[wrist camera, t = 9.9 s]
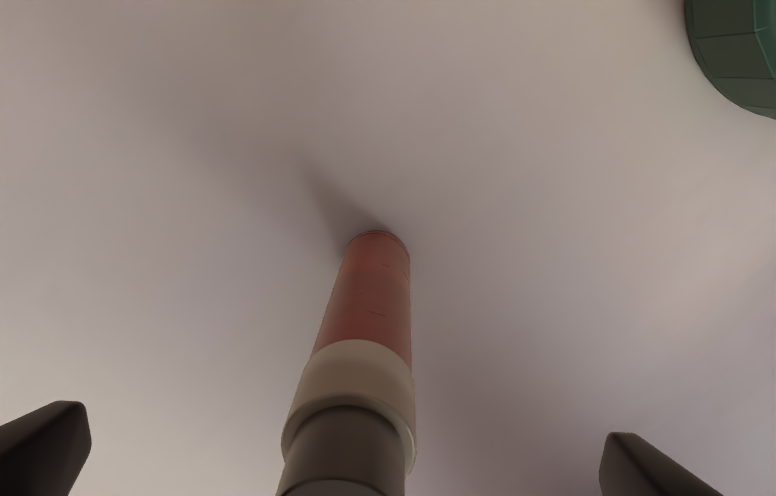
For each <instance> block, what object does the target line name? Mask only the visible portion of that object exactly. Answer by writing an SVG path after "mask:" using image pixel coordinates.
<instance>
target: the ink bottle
mask: <svg viewBox="0 0 776 496" xmlns="http://www.w3.org/2000/svg"><path fill="white" fill-rule="evenodd" d="M685 14H686V24H687V31H688V35H689V39H690V44H691V47H692V49H693V52H694V54H695V57H696V60H697V62H698V64H699V65H700V67H701V69H702V70H703V72H704V74H705V76H706V77H707V78H708V79H709V81H710V82H711V83H712V84H713V85H714V87H715V88H716V89H717V90H718V91H719V92H721V93H722V94H723V95H724V96H725V97H726V98H727V99H729V100H730V101H732V102H733V103H735V104H737V105H738V106H740V107H741V108H744V109H746V110H748V111H751V112H753V113H755V114H759V115H762V116H766V117H770V118H773V119H775V120H776V0H685Z"/></svg>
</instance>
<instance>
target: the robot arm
mask: <svg viewBox="0 0 776 496" xmlns="http://www.w3.org/2000/svg"><path fill="white" fill-rule="evenodd" d="M90 450H91V434H90V429H89V423H88V418H87V412H86V408H85V406H84V404H83V403H81V402H78V401H55V402H53V403H50V404H48V405H46V406H44V407H42V408H39V409H37V410H35V411H33V412H31V413H28V414H26V415H24V416H22V417H20V418H17V419H15V420H13V421H11V422H9V423H6V424H4V425H2V426H0V496H68V494H69V492H70V490H71V488H72V486H73V485H74V483H75V481H76V479H77V477H78V475H79V473H80V471H81V469H82V467H83V465H84V463H85V462H86V460H87V458H88V456H89V453H90ZM599 482H600V487H601V491H602V494H603V496H723V495H722V494H720V493H719V492H718V491H716V490H715V489H713V488H712V487H710V486H709V485H708V484H706V483H705V482H703V481H702V480H701V479H699V478H698V477H696V476H695V475H693V474H692V473H691V472H689V471H688V470H686V469H685V468H684V467H682V466H681V465H679V464H678V463H676V462H675V461H674V460H672V459H671V458H669V457H668V456H666V455H665V454H664V453H662V452H661V451H659V450H658V449H657V448H655V447H654V446H652V445H651V444H649V443H648V442H647V441H645V440H644V439H642V438H641V437H640V436H638V435H636V434H634V433H626V432H611V433H610V434H609V435H608V436H607V438H606V442H605V446H604V451H603V455H602V460H601V464H600V469H599Z"/></svg>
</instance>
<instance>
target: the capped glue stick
mask: <svg viewBox="0 0 776 496" xmlns="http://www.w3.org/2000/svg"><path fill="white" fill-rule="evenodd" d="M281 449H282V454H283V458H284V461H285V466H284V469H283V473H282V476H281V479H280V482H279V486H278V489H277V492H276V496H405V479H406V478H407V477H408V475H409V474H410V472H411V470H412V468H413V465H414V462H415V459H416V453H417V445H416V411H415V385H414V380H413V377H412V350H411V303H410V260H409V255H408V252H407V249H406V247H405V246H404V244H403V243H402V242H401V241H400V240H399V239H398V238H396V237H395V236H393V235H391V234H389V233H387V232H383V231H369V232H365V233H363V234H360V235H359V236H357V237H356V238H354V239H353V240H352V241H351V242H350V243H349V245H348V246H347V248H346V251H345V253H344V256H343V259H342V262H341V265H340V268H339V271H338V274H337V277H336V280H335V283H334V287H333V290H332V293H331V296H330V299H329V302H328V305H327V308H326V311H325V314H324V317H323V320H322V323H321V326H320V329H319V332H318V335H317V338H316V341H315V344H314V347H313V350H312V353H311V356H310V359H309V361H308V363H307V364H306V366H305V368H304V370H303V373H302V375H301V378H300V381H299V384H298V387H297V390H296V393H295V396H294V399H293V402H292V405H291V408H290V411H289V414H288V417H287V420H286V423H285V426H284V428H283V432H282V437H281Z"/></svg>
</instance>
